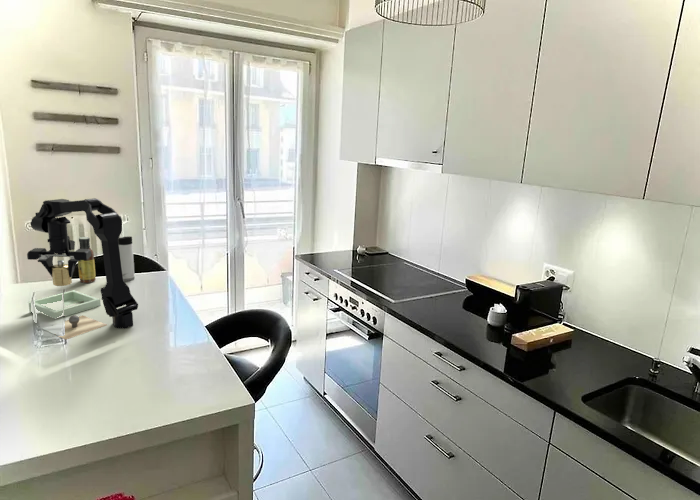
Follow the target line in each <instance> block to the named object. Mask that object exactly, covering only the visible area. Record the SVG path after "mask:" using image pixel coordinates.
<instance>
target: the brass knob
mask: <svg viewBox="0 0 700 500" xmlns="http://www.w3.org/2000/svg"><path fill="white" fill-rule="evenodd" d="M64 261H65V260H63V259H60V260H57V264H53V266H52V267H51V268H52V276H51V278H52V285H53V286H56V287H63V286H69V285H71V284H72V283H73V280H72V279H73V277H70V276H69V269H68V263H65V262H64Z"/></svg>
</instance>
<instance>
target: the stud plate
mask: <svg viewBox="0 0 700 500" xmlns="http://www.w3.org/2000/svg"><path fill="white" fill-rule="evenodd" d="M64 321H65V335H64V336H57V337H59V338H60V339H63V340H65V341H66V340H69V339H71V338H74V337H77V336H80V335H84V334H86V333H89V332H92V331H94V330H98V329H101V328H103V327H106V326H108V324H106V323H104V322H101V321H98V320H95V319H94V318H91V317H89V316H86V315H80V316H79V315H76V314H72V315H70V316H69V318H68V319H67V320H64Z"/></svg>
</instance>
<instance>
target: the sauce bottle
mask: <svg viewBox="0 0 700 500" xmlns="http://www.w3.org/2000/svg"><path fill="white" fill-rule="evenodd" d="M90 242H91V239H90V237H89V236H80V237H79V238H78V243H79V249H89V250H90V251H91V257H89V258H88V259H87V260H79V261H78V262H77V267H78V277H79V282H80V283H82V284H83V283H84V284H86V283H87V284H88V283H93V282H95V281H96V277H97V276H96V264H95V254H94V251H93V249H92V248H91V243H90Z"/></svg>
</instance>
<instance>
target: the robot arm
mask: <svg viewBox="0 0 700 500" xmlns="http://www.w3.org/2000/svg"><path fill="white" fill-rule="evenodd" d="M94 211H97V212H98V213H100V214H95V213H93V212H94ZM75 212H84V213H85V216H86V217H85V218H86V222H88V223H89V224H90V225H91V226H92V228H93V232H94V235H96V237H97V238H98V239H99V240H100V243H101V250H102V251H101V252H102V256H103V257H102V258H103V264H104V265H103V266H104V273H105V280H106V282H105V283H106V284H105V286H103V287H101V288H100V293H101V301H102V303H103V307H104V310H105V313H106V315H107V316H109V317H110V318H111V317H112V325H113V328H115V329H129V328H131V327H134V314H133V312H132V311H136V310H138V307H139V303H138V302H137V300H136V299H135V298H134V296H133V295H132V293H131V290H130V287H129V286H128V284H127V283H126V281H123V275H122V267H121V259H120V251H119V243H118V238H120V236H121V235H122V234H121V233H123V232H122V231H123V219H122V217H121V215H119V213H118V212H117V211H116V210H115V209H113V208H112V207H110V206H109V205H106V204H104V203H103V202H102V201H101V200H100V199H99V198H95V197H93V198H85V199H81V200H73V201H71V200H69V199H65V198H58V199H49V200H47V199H46V200H44V201H43V202H42V204H41V207H40V208H39V212H35V216H33V217H32V219H31V221H30V227H31V228H32V229H33V230H34V231H37V232H42V233H47V234H48V235H47V236H48V238H47V243H48V244H49V250H47V249H46V247H42V248H41V247H34V248H32V249H31V250H29V251H28V252H27V254H26V256H27V258H26V259H27V260H31V261H32V260H34V261H35V260H36V261H37V262H38V263H40V264H42V266H43V267H44V268H45V269H46V271H47V272H48V273H49V275H50V276H51V277H52V268H51V267H52V266H53V265H54V257H58V258H59V257H60V258H61V257H64V258H65V257H67V258H70V259H69V260H67V264H68V269H69V276H70V277H71V278H73V275H74V272H75V268H76V266H77V264H78V261H79V260H87V259H88V258H89V257H91V251H90V250H89V249H80V248H77V249H76V250H75V247H76V245H75V244H76V241H75V240H71V238H70V236H69V233H68V224H71V220H70V219H68V218H67V215H70V214H72V213H75ZM73 250H74V251H73Z"/></svg>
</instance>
